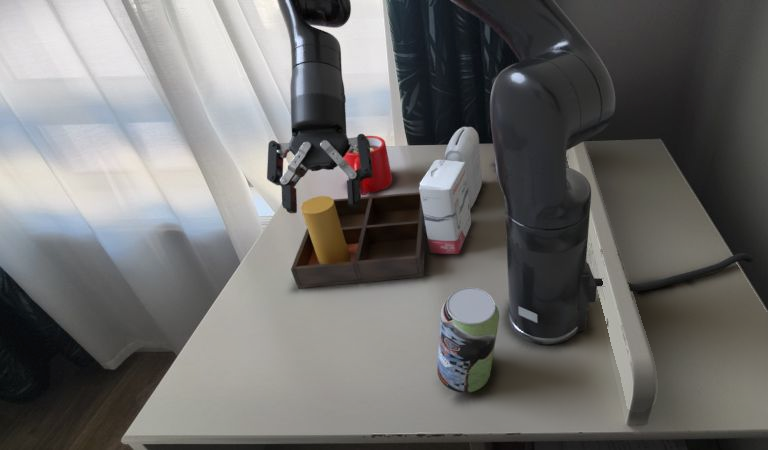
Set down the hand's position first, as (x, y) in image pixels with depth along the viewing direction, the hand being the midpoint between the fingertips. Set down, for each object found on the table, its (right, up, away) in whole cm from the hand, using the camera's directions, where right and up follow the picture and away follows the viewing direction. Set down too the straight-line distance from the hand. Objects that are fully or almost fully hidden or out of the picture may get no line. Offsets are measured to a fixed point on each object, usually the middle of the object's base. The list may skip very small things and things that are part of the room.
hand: (322, 209), depth 69 cm
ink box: (+17, -4, +9) cm, 20 cm away
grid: (+4, -5, +8) cm, 11 cm away
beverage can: (+22, -20, -13) cm, 32 cm away
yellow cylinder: (0, -7, +4) cm, 8 cm away
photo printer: (+19, +3, +19) cm, 27 cm away
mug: (+1, +5, +23) cm, 23 cm away
